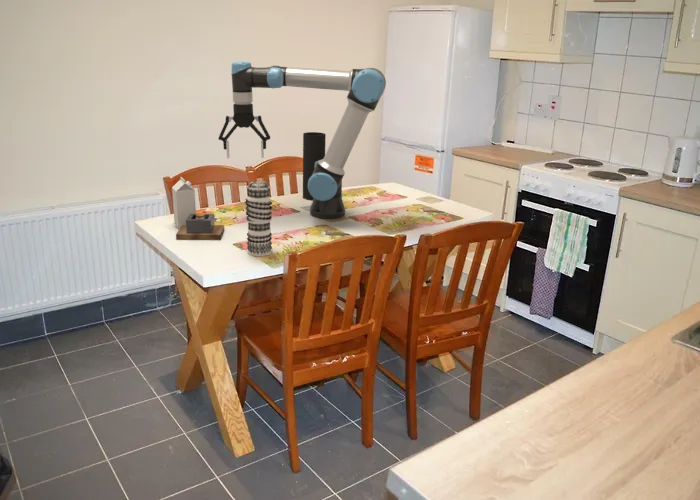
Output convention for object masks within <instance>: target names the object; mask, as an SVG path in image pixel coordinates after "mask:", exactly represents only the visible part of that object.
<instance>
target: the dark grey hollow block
mask: <svg viewBox="0 0 700 500" xmlns="http://www.w3.org/2000/svg"><path fill="white" fill-rule="evenodd" d="M196 214H197V213H196ZM196 214H192V213H190V214H189V216H188V218H187V219H186V231H187V233H212V231H213V229H214V227H215V225H216V224H215V213H203V214H204V219H196Z"/></svg>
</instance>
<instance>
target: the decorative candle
mask: <svg viewBox="0 0 700 500" xmlns="http://www.w3.org/2000/svg"><path fill="white" fill-rule="evenodd" d="M271 188H272V187H271V185H269V184H268V183H267V182H266V181H263V180H255V181H254V180H253V181H251V182H249V184H248V185H246V189H247V196H246V198H245V202H244V203H245V206H246V207H245V211H246V212H245V215H246V216H247V217H246V219H245V220H246V222H247V224H248V225H247V226H248V227H247V233H246V236H247V238H246V239H247V242H246V245H247V246H246V248H247V254H248V255H249V256H254V257H266V256H268V254H269V255H271V254H272V253H273V251H272V249H273V246H272V244H273V243H272V240H273V238H272V236H273V234H272V232H271V231H272V230H271V221H272V218H273V216H271V215H272V214H273V212H271V210H272V209H273V206H272V204H273V202H272V201H271V194H270V193H271V192H270V189H271ZM271 252H272V253H271ZM265 255H266V256H265Z"/></svg>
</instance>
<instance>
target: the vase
mask: <svg viewBox="0 0 700 500" xmlns="http://www.w3.org/2000/svg"><path fill="white" fill-rule="evenodd" d="M326 138H327V137H326V133H323V132H314V131H313V132H311V131H310V132H304V133H302V199H304V200H307V201H308V200H309V201H313V199H314V197H312V196H311V194H310V193H309V191H308V180H309V178H310V177H311V176H312V174H313V172H314V169H315V168H314V166H315V162H316V161H319V160H322V159H324V157H325V154H326Z"/></svg>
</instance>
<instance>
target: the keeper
mask: <svg viewBox="0 0 700 500" xmlns="http://www.w3.org/2000/svg"><path fill="white" fill-rule="evenodd" d="M204 214H205V213H202V212H200V213H196V219H204ZM224 232H225V225H223V224H219V225H218V224H215V227H214V229H213V231H212V233H187V231H186V225H182V226H181V227H180V229H178V231H177V232H176V234H175V239H176V240H177V241H178V240H180V241H181V240H183V241H184V240H185V241H221V239H222V237H223V234H224Z"/></svg>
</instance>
